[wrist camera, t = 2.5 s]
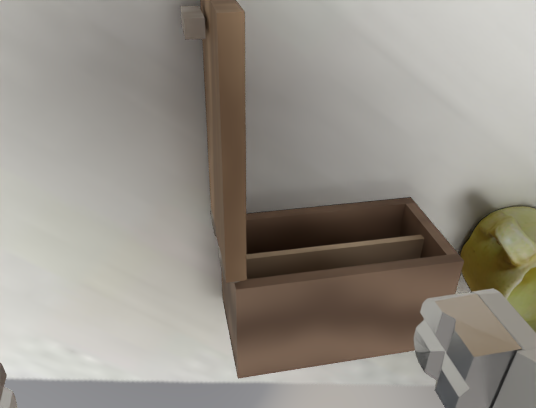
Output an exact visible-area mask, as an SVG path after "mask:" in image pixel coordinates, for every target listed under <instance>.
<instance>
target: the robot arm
mask: <svg viewBox="0 0 536 408" xmlns="http://www.w3.org/2000/svg"><path fill="white" fill-rule="evenodd" d="M420 313H421V315H422V316H423V318H424V320H423V321H422V322H421V323H420V324H419V325H418V326H417V327H416V330H415V335H414V347H415V353H416V356H417V359H418V362H419V364H420V365H421V367H422V369H423V371H424V372H425V373H426V374H428V375H429V376H431V377H433V378H434V379H436V386H435V391H436V393H437V395H438V396H439V398H440V400H441V402H442V403H443V405H444V407H445V408H536V332H535V331H534V330H533V329H532V328H531V327H530V326H529V324H528V323H527V322H526V321H525V320H524V319H523V318H522V317H521V315H520V314H519V313H518V312H517V311H516V310H515V309H514V307H513V306H512V305H511V304H510V303H509V302H508V301H507V299H506V298H505V297H504V296H503V295H502V294H501V293H500V292H499V291H497V290H495V289H494V288H493V289H486V290H479V291H473V292H465V293H459V294H453V295H446V296H440V297H434V298H427V299H426V300H425V301H424V302H423V304H422V307H421V311H420ZM5 380H6V373H5V370H4V368H3V366H2V364H1V363H0V408H17V402H16V399H15V396H14V393H13V391H11V390H9V389H8V388H6V387H4V384H5Z"/></svg>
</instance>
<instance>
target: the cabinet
mask: <svg viewBox="0 0 536 408" xmlns="http://www.w3.org/2000/svg"><path fill="white" fill-rule="evenodd" d="M463 264H464V260H463V259H462V258H461V256H460V255H459V254H458V253H457V252H456V250H455V249H454V248H453V247H452V246H451V245H450V243H449V242H448V241H447V240H446V239H445V237H444V236H443V235H442V234H441V233H440V231H439V230H438V229H437V228H436V227H435V226H434V224H433V223H432V222H431V221H430V220H429V218H428V217H427V216H426V215H425V214H424V212H423V211H422V210H421V209H420V208H419V207H418V205H417V204H416V203H415V202H414V201H413V199H412V198H411V197H410V198H400V199H390V200H380V201H370V202H360V203H350V204H340V205H330V206H320V207H310V208H300V209H290V210H279V211H269V212H259V213H249V214H246V268H247V280H245V281H239V282H237V283H230V282H228V283H226V280H225V279H224V278H223V274H222V295H223V303H224V308H225V314H226V319H227V324H228V329H229V335H230V340H231V345H232V350H233V356H234V361H235V366H236V371H237V377H238V378H243V377H250V376H256V375H262V374H269V373H275V372H281V371H288V370H294V369H300V368H307V367H313V366H319V365H326V364H332V363H338V362H345V361H351V360H357V359H364V358H370V357H376V356H383V355H389V354H395V353H402V352H408V351H414V350H415V347H414V335H415V330H416V327H417V326H418V325H419V324H420V323H421V322H422V321H423V320H424V318H423V316H422V315H421V313H420V311H421V307H422V304H423V302H424V301H425V300H426V299H427V298H434V297H440V296H446V295H453V294H455V292H456V288H457V285H458V281H459V278H460V274H461V271H462V267H463ZM221 271H222V269H221Z"/></svg>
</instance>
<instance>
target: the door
mask: <svg viewBox="0 0 536 408" xmlns="http://www.w3.org/2000/svg"><path fill="white" fill-rule="evenodd" d="M200 4H201V9H200V7H199V6H180V9H181V23H182V28H183V32H184V36H185V40H190V39H202V43H203V63H204V82H205V102H206V122H207V141H208V161H209V181H210V200H211V211H210V214H211V219H212V224H213V229H214V234H215V236H216V237H217V241H218V246H219V248H218V254H219V259H220V264H221V269H222V274H223V278H224V279H225V280H226V283H228V282H230V283H237V282H239V281H245V280H247V268H246V125H245V12H244V10H243V9H242V8H241V6H240V5H239V4H238V3H237V1H236V0H200Z"/></svg>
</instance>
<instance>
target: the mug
mask: <svg viewBox="0 0 536 408" xmlns="http://www.w3.org/2000/svg"><path fill="white" fill-rule="evenodd" d="M460 256H461V258H462V259H463V260H464V264H463V267H462V274H463V277H464V279H465V281H466V283H467V284H468V286H469V288H470V290H471V291H472V292H473V291H479V290H486V289H493V288H494V289H495V290H497V291H499V292H500V293H501V294H502V295H503V296H504V297H505V298H506V299H507V301H508V302H509V303H510V304H511V305H512V306H513V307H514V309H515V310H516V311H517V312H518V313H519V314H520V315H521V317H522V318H523V319H524V320H525V321H526V322H527V323H528V324H529V326H530V327H531V328H532V329H533V330H534V331H535V332H536V209H535V208H531V207H520V206H519V207H508V208H504V209H500V210H497V211H495V212H492V213H490V214H489V215H488V216H486V217H485V218H483V219H482V220H481V221H480V222H479V224H478V225H477V226H476V228H475V229H474V231H473V233H472V234H471V236H470V238H469V240H468V241H467V242H466V243H465V245H464V246H463V248H462V251H461V254H460Z"/></svg>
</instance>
